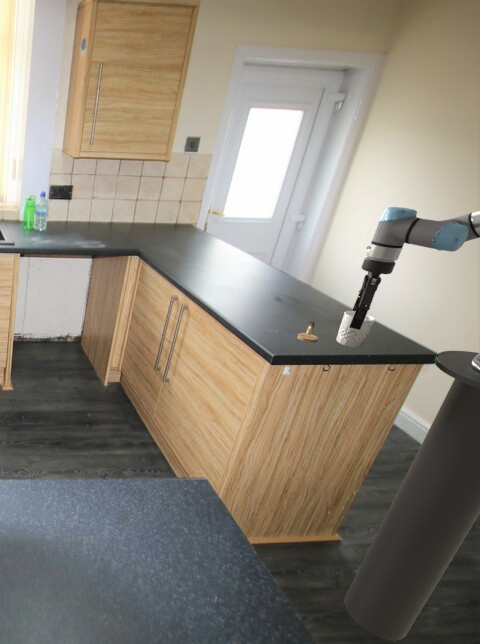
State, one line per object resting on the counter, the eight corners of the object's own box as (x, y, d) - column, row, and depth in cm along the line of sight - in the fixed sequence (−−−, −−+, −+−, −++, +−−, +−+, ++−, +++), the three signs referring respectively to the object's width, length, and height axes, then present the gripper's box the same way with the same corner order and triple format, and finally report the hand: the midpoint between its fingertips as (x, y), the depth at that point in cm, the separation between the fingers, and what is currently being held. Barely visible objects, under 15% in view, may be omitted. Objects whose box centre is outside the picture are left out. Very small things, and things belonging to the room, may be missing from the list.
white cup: (356, 339, 159) (368, 312, 154) (367, 350, 152) (380, 322, 147) (329, 336, 160) (340, 309, 156) (339, 346, 154) (351, 318, 149)
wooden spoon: (302, 323, 172) (303, 319, 171) (320, 327, 169) (322, 323, 168) (296, 339, 158) (297, 335, 157) (316, 344, 154) (318, 340, 154)
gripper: (365, 249, 156) (342, 308, 165) (365, 264, 138) (339, 330, 146) (394, 253, 152) (369, 314, 160) (398, 270, 134) (369, 337, 142)
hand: (354, 322), depth 153 cm, fingers open, 13 cm apart
